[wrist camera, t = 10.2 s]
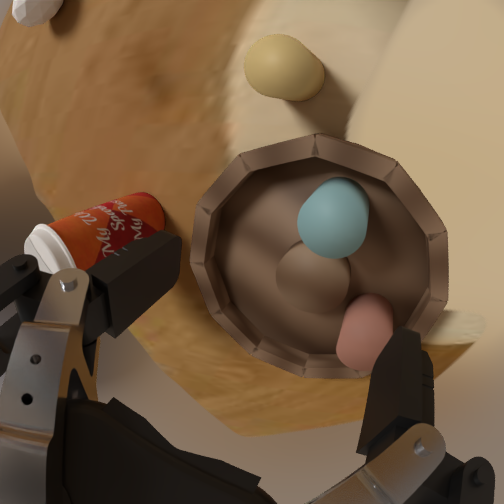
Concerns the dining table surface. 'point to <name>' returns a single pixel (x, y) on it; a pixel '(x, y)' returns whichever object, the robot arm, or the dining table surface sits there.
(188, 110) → the dining table surface
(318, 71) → the ochre bead
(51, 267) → the paper cup
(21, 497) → the robot arm
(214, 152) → the dining table surface
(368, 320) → the pink rounded piece
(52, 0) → the geometric ball
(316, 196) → the pale blue rounded piece
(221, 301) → the walnut tray
